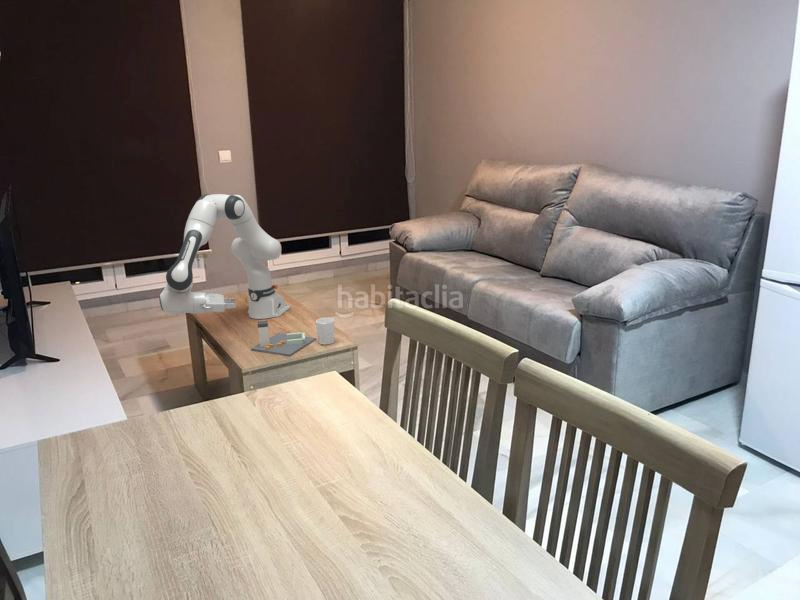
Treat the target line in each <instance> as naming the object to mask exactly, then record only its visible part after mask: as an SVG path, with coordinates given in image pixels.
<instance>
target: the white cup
mask: <svg viewBox="0 0 800 600" xmlns="http://www.w3.org/2000/svg"><path fill="white" fill-rule="evenodd" d="M315 325H316V335H317V338H318V344H319V343H320V345H321V344H329V345H332V344H333V343H335V318H332V317H321V318H317V319H316V320H315ZM331 343H332V344H331Z"/></svg>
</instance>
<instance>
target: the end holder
mask: <svg viewBox="0 0 800 600" xmlns="http://www.w3.org/2000/svg"><path fill="white" fill-rule="evenodd" d="M286 334H287V339H291V340H287V345H295V344H305V343H306V342H305V337H306V332H305V331H303V332H294V333H293V332H292V333H290V332H289V333H286ZM292 338H301V339H292Z"/></svg>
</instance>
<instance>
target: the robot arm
mask: <svg viewBox="0 0 800 600" xmlns="http://www.w3.org/2000/svg"><path fill="white" fill-rule="evenodd" d="M217 220H219V221H220V220H228V221H229V223H230V225H231V227H232V229H233V230H234V233H235V235H236V236H237V237H236V238H234V239H233V241H232V243H231V247H230V248H231V249H230V250H231V253H232V255H233V256H234V257H235V258H237V259H238V261H240V263H241V264H242V266H243V268H244V269H245V273H246V276H247V284H248V290H247V291H248V310H247V314H248V317H249V318H251V319H255V320H261V319H262V320H264V319H265V320H266V319H272V318H278V317H280V316H282V315H283V314H284V313H286V312H287V311H288V310H290V309H291V305H290V304H286V301H285V300H286V299H285V298H284V296H283V295H281V294H279V293H277V292H276V291H275V290H277V289H278V288H279V287H278V285H279V284H273V282H272V274H271V271H270V268H268V267H267V266H265V264H263V262H262V261H274V260H277V259H279V257H280V255H281V254H282V244H281V243H280V241H279V240H278V239H276V238H274V237H272V236H271V235H269V234H268V233H267V232H266V231H265V230H264V229H263V228H262V227H261V226H260V225H259V223H258V222H257V219H256V217H255V215H254V212H253V211H252V209H251V208H250V206H249V204H248V202H247V201H246V200H245V198H244V197H243V196H242V195H240V194H232V195H230V194H224V193H217V194H216V193H214V194H211V193H206V194H203V195H200V197H199V198H198V199H197V200H196V202H195V204H194V206H193V207H192V209H191V210H190V213H189V214H188V218H187V220H186V222H185V227H184V232H183V243H182V245H181V248H180V251H179V254H178V257H177V258H176V260H175V262H174V263H173V264H172V265H171V266H170V267H169V269H168V270H167V271H166V275H165V280H166V284H165V287H164V289H163V290H162V291H161V293H160V294H159V297H158V299H159V304H160V308H161V310H162V311H163V312H164V313H167V314H178V315H179V314H181V315H182V314H186V313H187V314H193V315H194V314H196V315H198V314H203V315H204V314H205V315H206V312H209V313H210V312H211V313H223V312H225V310H229V309H236V308H237V304H236V298H229V297H225V295H224V294H220V293H211V292H210V293H206V291H199V292H197V291H195V292H194V291H192V288H193V285H194V278H193V276H194V275H193V265H194V262H195V259H196V256H197V254H198V251H199V249H200V248H201V247H202V246H204V245H206V244H207V243H208V241H209V240H210V238H211V236H212V233H213V230H214V228H215V225H216V221H217Z"/></svg>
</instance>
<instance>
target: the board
mask: <svg viewBox="0 0 800 600" xmlns="http://www.w3.org/2000/svg"><path fill="white" fill-rule="evenodd" d="M287 334H288V333H282V332H277V333H276V334H273V335H272V336H269V339H270V344H269V346H261V347H260V343H258V344H256V345H254V346H253V347H251V348H250V351H253V352H260V353H268V354H272V355H278V354H279V355H280V356H285V357H291V356H293V355H295V354H297V352H299V351H301V350H302V349H304V348H305V346H306V345H307V346H309V345H310V344H312V343H314V342H315V341H316V340H317V338H316V337H312V336H305V342H306V343H305V344H295V345H287V340H291V339H287ZM292 339H301V338H292ZM314 340H315V341H314ZM311 342H312V343H311ZM308 344H309V345H308ZM307 346H306V347H307ZM303 347H304V348H303ZM300 349H301V350H300Z"/></svg>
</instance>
